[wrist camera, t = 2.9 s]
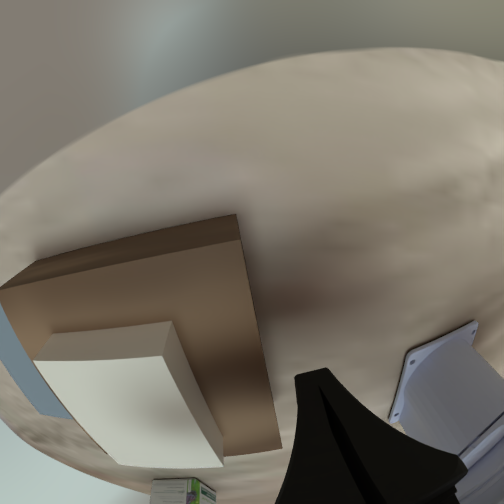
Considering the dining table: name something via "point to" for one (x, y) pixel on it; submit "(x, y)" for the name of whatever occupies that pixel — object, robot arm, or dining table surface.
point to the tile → (134, 395)
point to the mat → (27, 372)
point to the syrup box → (181, 492)
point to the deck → (163, 314)
